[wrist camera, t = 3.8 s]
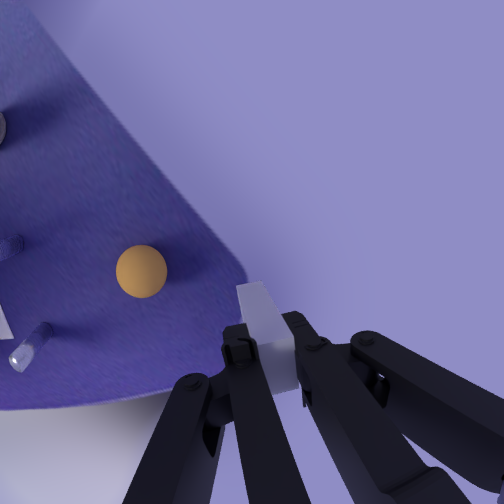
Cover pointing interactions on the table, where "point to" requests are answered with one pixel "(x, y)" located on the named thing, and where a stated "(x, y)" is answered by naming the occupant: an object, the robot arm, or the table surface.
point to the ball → (141, 271)
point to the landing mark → (4, 327)
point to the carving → (2, 127)
